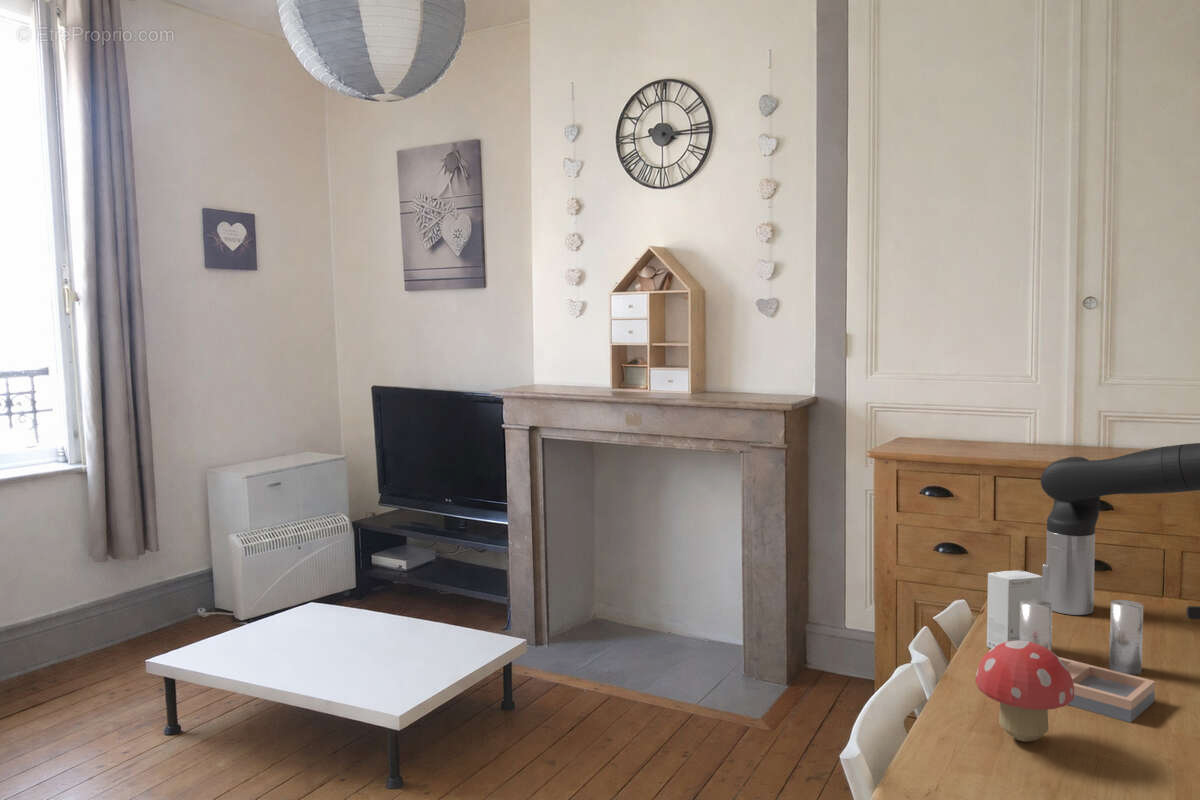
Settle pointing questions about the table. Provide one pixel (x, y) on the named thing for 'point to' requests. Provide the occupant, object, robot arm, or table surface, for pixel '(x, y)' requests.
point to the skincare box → (1009, 603)
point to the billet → (1126, 637)
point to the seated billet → (1036, 622)
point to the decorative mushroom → (1024, 686)
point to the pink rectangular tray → (1109, 691)
